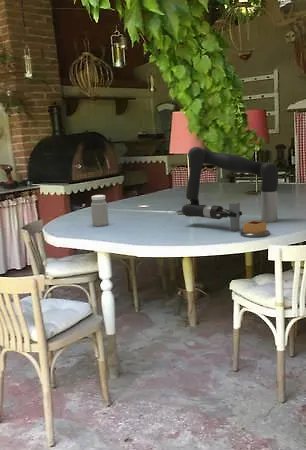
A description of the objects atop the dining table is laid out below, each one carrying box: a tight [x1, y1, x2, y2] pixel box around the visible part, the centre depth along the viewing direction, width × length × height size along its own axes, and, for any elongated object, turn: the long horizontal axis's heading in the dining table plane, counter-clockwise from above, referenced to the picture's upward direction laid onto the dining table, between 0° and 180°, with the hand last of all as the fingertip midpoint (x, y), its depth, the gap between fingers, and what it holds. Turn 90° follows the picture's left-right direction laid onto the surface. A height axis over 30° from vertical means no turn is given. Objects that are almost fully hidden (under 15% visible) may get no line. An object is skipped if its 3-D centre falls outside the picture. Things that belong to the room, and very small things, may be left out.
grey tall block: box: [228, 202, 241, 232], centre depth 285 cm, size 4×4×15 cm
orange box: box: [240, 220, 271, 239], centre depth 274 cm, size 15×15×6 cm
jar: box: [90, 194, 109, 227], centre depth 323 cm, size 10×10×18 cm
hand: (238, 214), depth 283 cm, fingers open, 4 cm apart
